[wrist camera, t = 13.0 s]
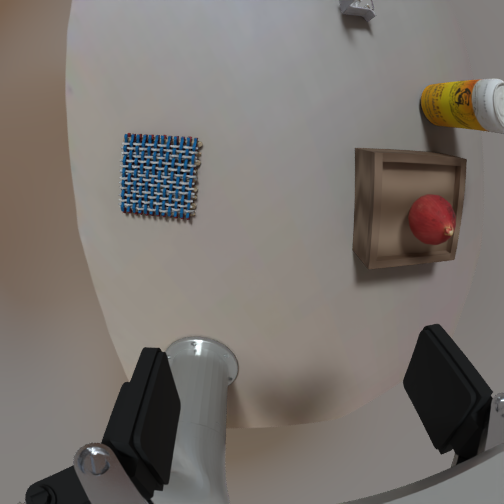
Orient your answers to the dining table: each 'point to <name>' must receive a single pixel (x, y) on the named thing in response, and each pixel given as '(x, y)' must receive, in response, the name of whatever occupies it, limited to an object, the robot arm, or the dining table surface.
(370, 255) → the walnut tray
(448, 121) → the beer can
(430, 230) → the pomegranate
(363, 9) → the architectural model
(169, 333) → the dining table surface
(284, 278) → the dining table surface
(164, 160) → the woven mat
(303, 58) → the dining table surface
